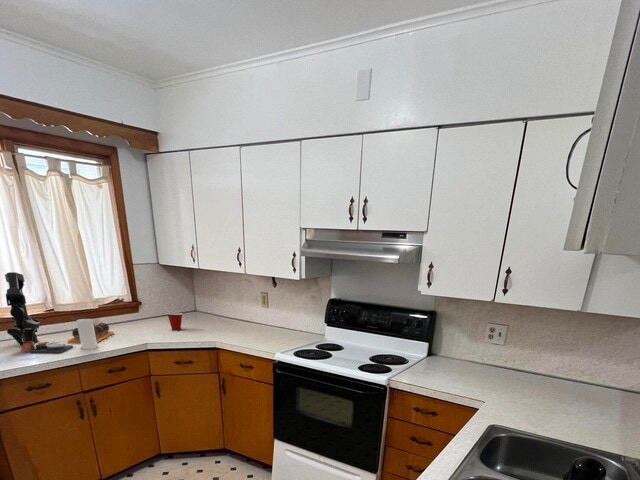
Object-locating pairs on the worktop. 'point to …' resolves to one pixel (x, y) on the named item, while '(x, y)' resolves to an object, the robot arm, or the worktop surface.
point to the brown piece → (100, 333)
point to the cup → (87, 333)
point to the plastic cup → (175, 320)
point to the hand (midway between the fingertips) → (26, 343)
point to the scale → (51, 349)
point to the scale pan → (54, 344)
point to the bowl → (27, 346)
